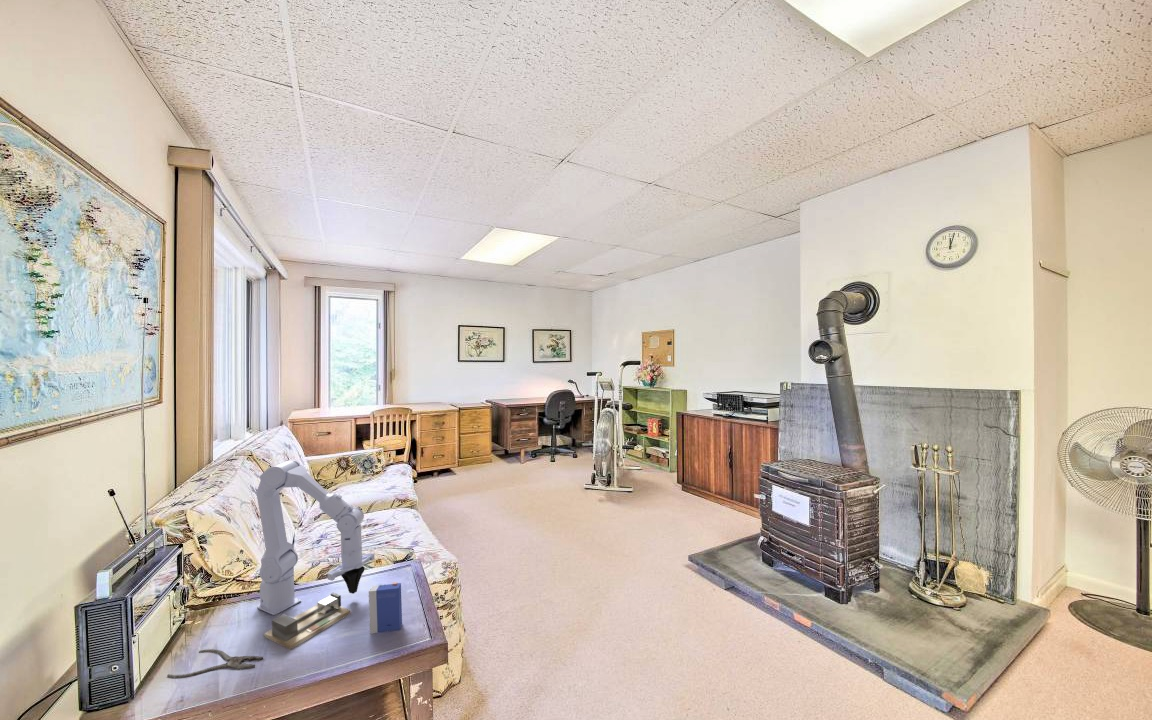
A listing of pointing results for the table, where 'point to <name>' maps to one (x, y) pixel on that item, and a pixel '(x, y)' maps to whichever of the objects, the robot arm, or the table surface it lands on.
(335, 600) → the block with upright rod
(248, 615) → the table surface
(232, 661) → the pliers
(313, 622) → the bench
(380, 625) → the walkman
